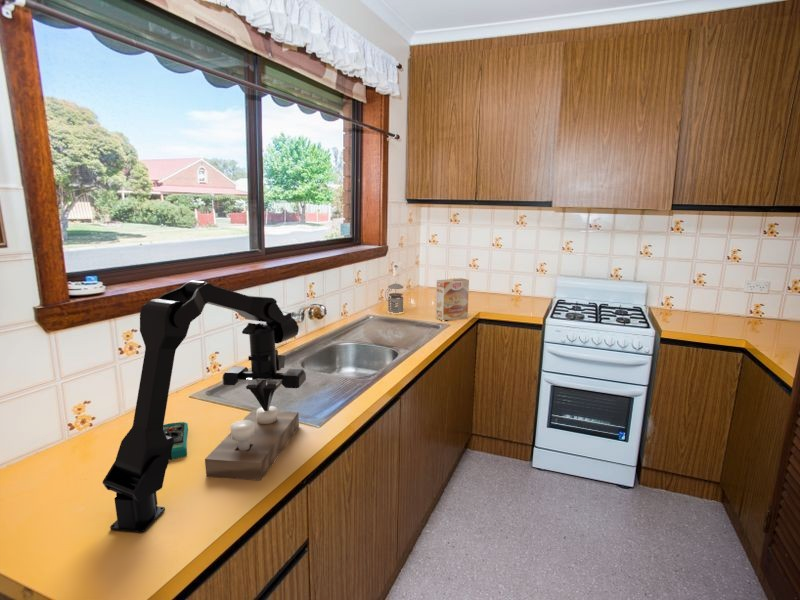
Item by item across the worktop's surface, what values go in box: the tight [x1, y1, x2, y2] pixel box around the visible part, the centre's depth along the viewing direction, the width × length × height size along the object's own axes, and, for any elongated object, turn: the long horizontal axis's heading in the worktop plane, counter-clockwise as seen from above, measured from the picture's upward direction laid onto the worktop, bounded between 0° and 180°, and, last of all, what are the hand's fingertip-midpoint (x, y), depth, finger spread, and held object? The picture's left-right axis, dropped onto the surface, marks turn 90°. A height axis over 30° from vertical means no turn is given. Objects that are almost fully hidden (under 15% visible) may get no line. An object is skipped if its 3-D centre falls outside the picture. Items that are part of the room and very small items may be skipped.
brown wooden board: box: [204, 409, 300, 481], centre depth 109 cm, size 24×12×4 cm, turn 173°
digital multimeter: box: [163, 421, 189, 460], centre depth 111 cm, size 7×15×3 cm, turn 23°
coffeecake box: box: [435, 277, 470, 322], centre depth 231 cm, size 15×7×20 cm, turn 119°
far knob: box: [256, 405, 278, 424], centre depth 115 cm, size 5×5×7 cm
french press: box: [384, 264, 404, 313], centre depth 244 cm, size 10×12×25 cm
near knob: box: [230, 419, 255, 451], centre depth 102 cm, size 5×5×7 cm
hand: (266, 410), depth 114 cm, fingers closed, pressing on far knob
